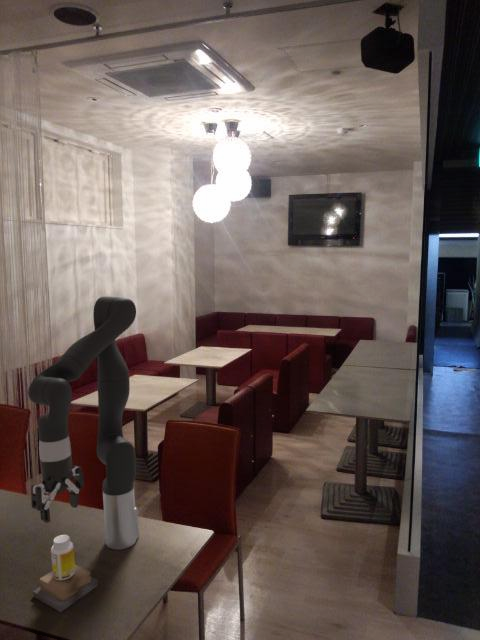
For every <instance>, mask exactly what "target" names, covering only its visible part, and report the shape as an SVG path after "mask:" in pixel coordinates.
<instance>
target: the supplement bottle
mask: <svg viewBox="0 0 480 640" xmlns="http://www.w3.org/2000/svg"><path fill="white" fill-rule="evenodd" d="M50 556H51V558H50V559H51V566H52V571H53V577H54V578H55V579H56V580H66V579H69V578H71V577H72V576H73V575H74V573H75V565H76V564H75V560H76V559H75V551H74V543H73V542H72V541H71V540H70V536H69V535H68V534H61V535H57V536H56V537H54V538H53V545H52V546H51V548H50Z"/></svg>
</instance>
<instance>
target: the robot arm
mask: <svg viewBox="0 0 480 640" xmlns="http://www.w3.org/2000/svg"><path fill="white" fill-rule="evenodd" d="M92 312H93V313H92V314H93V315H92V316H93V317H92V319H93V325H94V326H93V327H94V330H93V331H92V332H90V333H88V334H86V335H85V336H83V337H81V338H80V339H78V340H76V341H75V342H73V344H71V345H70V346H69V347H68V348H67V349H66V351H64V353H63V354H62V355H61V356H60V358H58V359H57V361H55V362H54V363H53V364H51V365H50V366H48V367H47V368H45V369H44V370H43V371H41V372H40V373H39V374H38V375H36V376H35V377H34V378H33V379H32V381H31V383H30V384H29V386H28V393H27V395H28V398H29V400H30V401H31V402H32V403H34V404H36V405H41V406H48V407H49V410H48V413H44V414H42V415H41V416H40V417H39V418H38V420H37V427H38V428H37V429H38V430H37V431H38V440H39V442H38V451H39V452H38V453H39V464H40V474H41V476H42V481H41V483H39V484H32V485H31V486H30V493H31V494H30V496H31V508H32V509H33V510H36V511H39V513H40V519H41V521H43V522H44V523H46V524H49V523H50V522H51V511H50V505H51V503H52V501H54V500H55V497H56V496H58V495H60V494H61V493H62V492H65V491H69V505H70V507H71V508H74V509H76V508H77V507H78V506H79V504H80V499H79V492H80V491H81V490H82V489H84V488H85V481H84V472H83V468H82V467H81V466H77V465H73V461H72V460H73V459H72V448H71V447H72V446H71V440H70V435H69V434H70V433H69V422H68V418H69V414H70V411H71V410H70V409H71V404H72V399H73V390H72V386H71V385H70V382H75V381H77V380H79V379H80V378H81V376H82V375H83V374H84V372H86V370H87V369H88V368H89V367H90V366H91V364H92V363H93V362H94V360H95V359H96V358H97V359H96V360H97V377H96V378H97V403H98V404H97V405H98V406H97V407H98V431H97V440H96V455H97V457H98V460H99V461H100V462H101V463H102V464H104V466H105V469H106V470H105V471H106V472H105V474H106V478H104V480H103V481H102V483H101V484H102V485H101V486H102V500H103V515H104V516H103V517H104V531H105V534H104V535H105V545H106V547H108V549H112V550H114V551H115V550H116V551H117V550H125V549H127V548H130V547H132V546H134V544H135V543H136V542H137V539H138V538H139V537H140V533H139V532H140V531H139V511H138V509H139V508H137V507H136V502H135V500H136V499H135V484H134V483H135V481H136V476H137V464H136V457H137V456H136V451H135V447H134V445H133V443H131V442H130V441H129V440H127V439H126V438H125V437H124V435H123V434H124V433H123V432H124V431H123V415H124V411H125V408H126V406H127V403H128V400H129V397H130V384H131V383H130V370H129V368H128V365H127V363H126V361H125V359H124V357H123V355H122V354H121V352H120V349H119V348H118V345H117V342H116V339H118V338H119V337H120V336H121V335H122V334H123V333H124V332H126V331H127V330H128V329H129V328H130V327H131V326H132V325H133V323H134V322H135V319H136V317H137V307H136V304H135V302H134V301H133V300H132V299H130V298H127V297H124V296H122V297H121V296H100V297H99V298H98V299H97V300H96V301H95V303H94V306H93V311H92ZM72 478H73V481H72ZM73 482H74V483H73ZM48 494H49V495H48Z"/></svg>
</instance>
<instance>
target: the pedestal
mask: <svg viewBox="0 0 480 640" xmlns="http://www.w3.org/2000/svg"><path fill="white" fill-rule="evenodd" d="M98 586H99V580H98V579H97V578H94V577H93V576H91V571H90V570H88V569H86V568H83V567H81V566H80V565H77V564H75V573H74V575H73V576H72V577H71V578H69V579H66V580H56V579H55V578H54V577H53V570H51V571H50V572H48V573H47V574H45V575H44V576H42V577H40V578H39V587H38V588H36V589H35V590H33V591H32V594H33V595H32V596H33V598H35V599H37V600H39V601H40V602H42V603H44V604H45V605H47V606H49V607H50V608H52V609H55V610H56V611H58V612H59V613H62V612H63V611H65V610H66V609H68V608H69V607H70V606H71V605H73V604H75V603H76V602H77V601H78V600H80V599H82V598H83V597H85V596H86V595H87V594H88V593H90V592H91V591H92V590H94V589H95V588H97V587H98Z"/></svg>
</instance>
